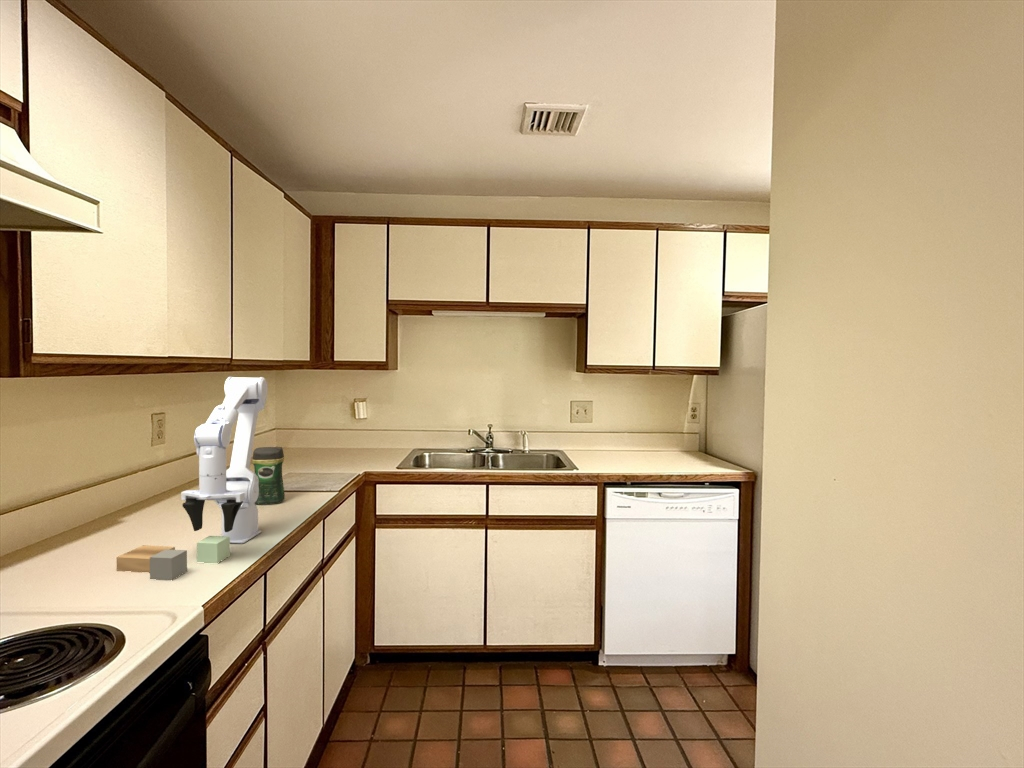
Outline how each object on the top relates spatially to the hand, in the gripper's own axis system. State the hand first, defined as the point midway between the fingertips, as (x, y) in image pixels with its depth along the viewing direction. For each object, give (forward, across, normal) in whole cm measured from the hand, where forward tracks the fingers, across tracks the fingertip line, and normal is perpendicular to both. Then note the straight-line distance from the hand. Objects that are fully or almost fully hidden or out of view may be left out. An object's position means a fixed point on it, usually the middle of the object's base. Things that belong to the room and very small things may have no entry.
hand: (213, 530), depth 131 cm
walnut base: (+8, -13, -5) cm, 16 cm away
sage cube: (+7, 0, 0) cm, 7 cm away
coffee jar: (+7, -13, +51) cm, 53 cm away
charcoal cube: (+7, -4, -10) cm, 13 cm away
